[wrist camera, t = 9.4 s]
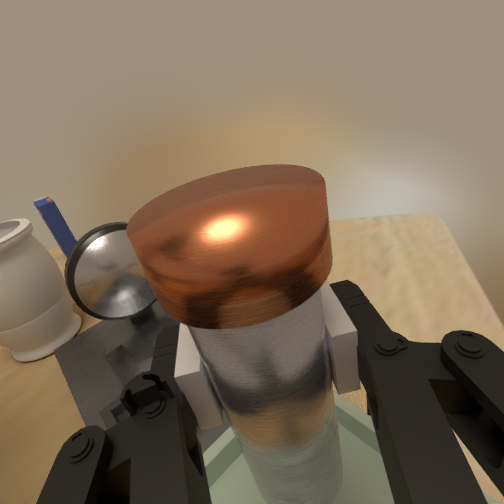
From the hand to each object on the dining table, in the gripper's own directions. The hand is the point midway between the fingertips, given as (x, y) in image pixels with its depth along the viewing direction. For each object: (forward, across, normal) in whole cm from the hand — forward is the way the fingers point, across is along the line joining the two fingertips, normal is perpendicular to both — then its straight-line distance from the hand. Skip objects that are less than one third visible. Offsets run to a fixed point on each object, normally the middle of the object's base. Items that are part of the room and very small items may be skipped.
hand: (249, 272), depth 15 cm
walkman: (+47, -35, -16) cm, 61 cm away
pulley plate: (+11, -12, -16) cm, 23 cm away
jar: (+21, -28, -16) cm, 38 cm away
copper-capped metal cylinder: (-5, 0, -7) cm, 9 cm away
